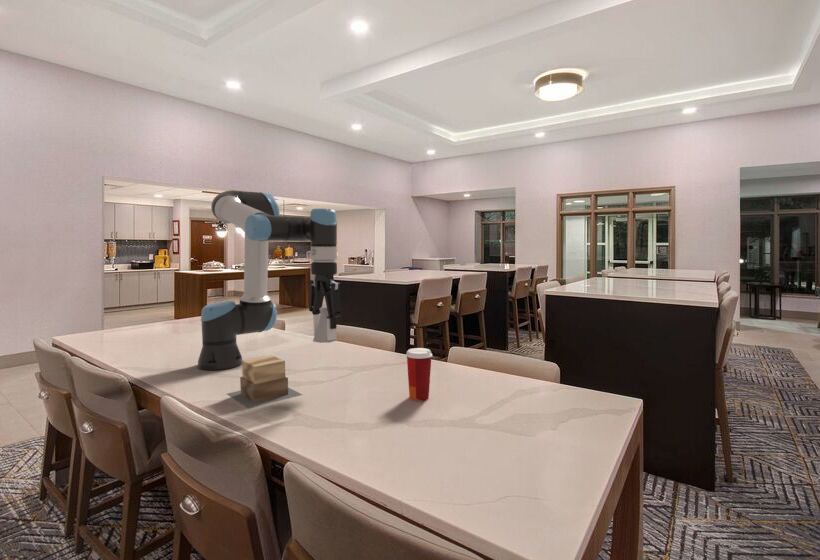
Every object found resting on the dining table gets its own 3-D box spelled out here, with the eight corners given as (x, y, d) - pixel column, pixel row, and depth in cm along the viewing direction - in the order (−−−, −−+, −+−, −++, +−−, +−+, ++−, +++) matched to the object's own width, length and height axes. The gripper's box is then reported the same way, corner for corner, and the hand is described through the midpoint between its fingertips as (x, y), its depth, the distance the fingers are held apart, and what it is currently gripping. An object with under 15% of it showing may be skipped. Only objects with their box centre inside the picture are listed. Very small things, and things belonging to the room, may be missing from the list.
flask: (331, 344, 127) (331, 310, 126) (308, 342, 128) (308, 309, 127) (340, 338, 134) (340, 306, 133) (318, 337, 135) (318, 305, 134)
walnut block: (240, 393, 127) (240, 377, 127) (273, 386, 134) (272, 370, 134) (254, 402, 120) (254, 385, 119) (288, 394, 127) (287, 377, 126)
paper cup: (435, 394, 129) (435, 348, 128) (427, 403, 122) (427, 354, 121) (410, 392, 131) (410, 346, 130) (401, 400, 124) (401, 352, 123)
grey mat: (226, 397, 127) (226, 393, 127) (277, 385, 138) (277, 382, 138) (248, 412, 116) (248, 408, 116) (302, 397, 126) (302, 394, 126)
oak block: (242, 377, 127) (242, 360, 126) (271, 371, 133) (271, 355, 132) (255, 384, 120) (254, 366, 120) (285, 377, 126) (285, 360, 126)
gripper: (296, 260, 134) (297, 333, 136) (331, 262, 119) (332, 345, 121) (317, 259, 139) (318, 330, 141) (353, 262, 124) (354, 341, 126)
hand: (324, 337), depth 131 cm, fingers closed on flask, 7 cm apart
